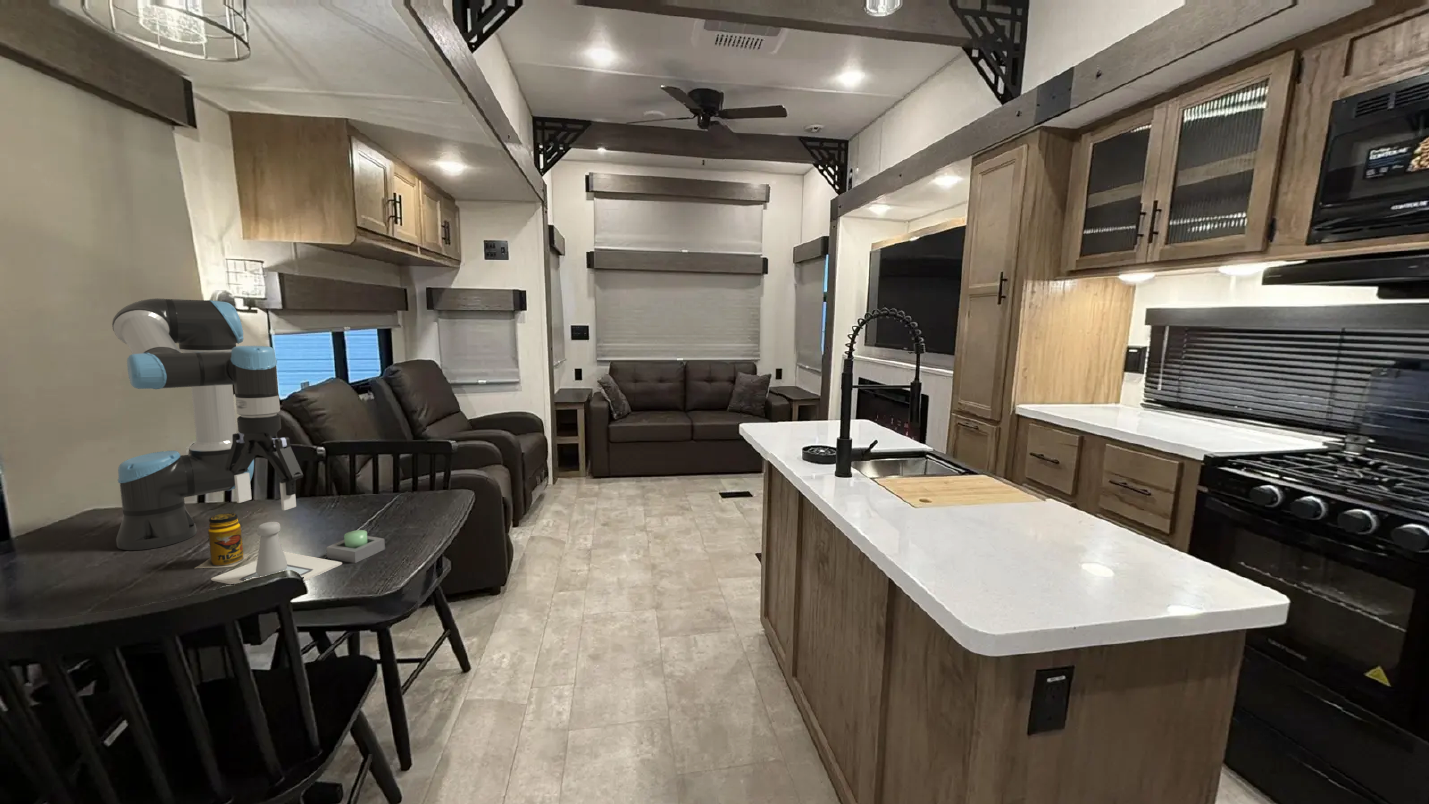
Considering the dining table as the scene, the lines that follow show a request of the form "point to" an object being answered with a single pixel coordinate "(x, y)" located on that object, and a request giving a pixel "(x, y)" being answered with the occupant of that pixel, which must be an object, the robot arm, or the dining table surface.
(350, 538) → the button
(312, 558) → the colouring board
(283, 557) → the salt shaker
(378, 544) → the button housing
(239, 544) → the condiment
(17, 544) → the dining table surface
